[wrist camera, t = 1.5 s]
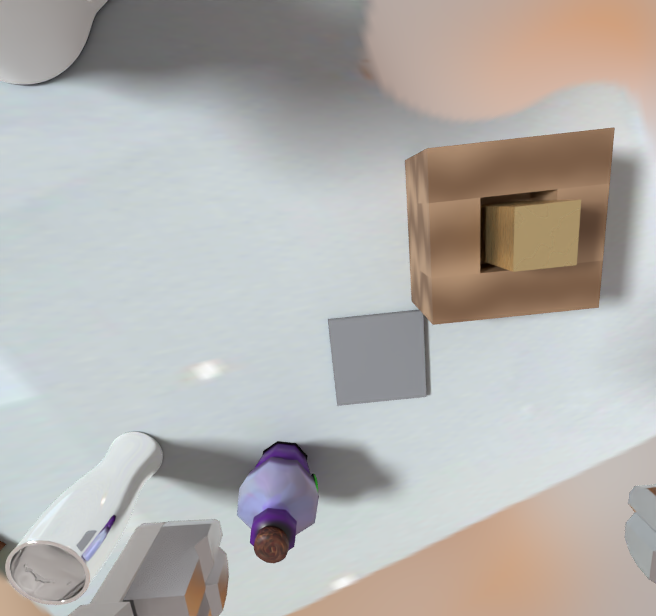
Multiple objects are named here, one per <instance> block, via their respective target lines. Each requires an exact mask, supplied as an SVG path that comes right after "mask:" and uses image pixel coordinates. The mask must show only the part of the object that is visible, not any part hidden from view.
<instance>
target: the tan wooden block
mask: <svg viewBox="0 0 656 616" xmlns="http://www.w3.org/2000/svg"><path fill="white" fill-rule="evenodd" d="M580 210H581V200H536V201H515V202H506V203H496V204H487V205H480V260H481V261H484V262H487V263H490V264H493V265H495V266H498V267H501V268H504V269H507V270H509V271H512V272H516V271H526V270H535V269H545V268H554V267H564V266H573V265H577V253H578V239H579V225H580Z"/></svg>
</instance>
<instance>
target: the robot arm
mask: <svg viewBox="0 0 656 616" xmlns="http://www.w3.org/2000/svg"><path fill="white" fill-rule="evenodd" d="M107 1H108V0H0V81H3V82H7V83H12V84H35V83H40V82H44V81H47V80H49V79H52V78H54V77H56V76H57V75H59V74H61V73H62V72H63V71H65V70H66V69H67V68H68V67H69V66H70V65H71V64H72V63H73V62H74V61H75V60H76V58H77V57H78V56H79V54H80V53H81V51H82V49H83V47H84V45H85V43H86V41H87V38H88V35H89V32H90V29H91V26H92V22H93V20H94V17H95V15H96V13H97V12H98V11H99V10H100V9H101V8H102V6H103V5H104V4H105V3H106V2H107ZM628 504H629V505H630V507H631V508H632V509H633V511H634V512H635V513H634V514H633V515H632V516H631V517H630V519H629V520H628V521H627V522H626V527H625V540H626V543H627V546H628V549H629V552H630V554H631V556H632V557H633V559H634V561H635V563H636V564H637V566H638V567H639V568H640V569H641V571H642V572H643V573H644V574H645V575H646V577H647V578H648V579H649V580H651V581H653V582H654V583H656V484H653V485H642V486H634V488H633V489H632V490H631V491H630V493H629V501H628ZM222 536H223V534H222V529H221V525H220V521H218V520H216V519H207V520H188V521H169V522H162V523H143V524H141V525H140V526H139V527H137V528H136V529H135V531H134V532H133V534H132V536H131V537H130V539H129V540H128V542H127V544H126V545H125V547H124V549H123V550H122V552H121V553H120V555H119V557H118V558H117V560H116V562H115V563H114V565H113V567H112V568H111V570H110V571H109V573H108V575H107V576H106V578H105V580H104V581H103V583H102V584H101V586H100V588H99V589H98V591H97V593H96V594H95V596H94V598H93V599H92V601H91V602H90V604H88V605H80V606H79V607H78V608H77V609H75V610H74V611H73V612H72V613H70V614H69V615H68V616H219V615H220V613H221V612H222V611H223V608H224V604H225V600H226V596H227V588H228V578H229V572H228V560H227V554H226V553H225V552H224V551H223V550H222V549H221V548H220V547H219V545H220V542H221V539H222Z"/></svg>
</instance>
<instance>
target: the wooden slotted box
mask: <svg viewBox="0 0 656 616" xmlns="http://www.w3.org/2000/svg"><path fill="white" fill-rule="evenodd" d="M613 140H614V128H606V129H597V130H588V131H579V132H570V133H561V134H552V135H543V136H534V137H525V138H516V139H507V140H498V141H489V142H480V143H471V144H462V145H453V146H444V147H435V148H427V149H425V150H423V151H421V152H420V153H418V154H416V155H414V156H412V157H410V158H408V159H407V160H405V170H406V191H407V212H408V233H409V253H410V274H411V295H412V302H413V303H414V304H415V305H416V307H417V308H418V309H419V310H420V311H421V312H422V313H423V314H424V315H425V316H426V317H427V319H428V320H429V321H430V322H431V323H432V324H433V325H434V324H444V323H454V322H463V321H473V320H483V319H492V318H502V317H512V316H521V315H531V314H540V313H550V312H560V311H569V310H579V309H589V308H598V307H599V299H600V287H601V276H602V265H603V253H604V242H605V231H606V219H607V208H608V196H609V185H610V174H611V162H612V151H613ZM536 200H581V210H580V225H579V239H578V253H577V265H573V266H564V267H554V268H545V269H535V270H526V271H516V272H512V271H509V270H507V269H504V268H501V267H498V266H495V265H493V264H490V263H487V262H484V261H481V260H480V205H487V204H496V203H506V202H515V201H536Z"/></svg>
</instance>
